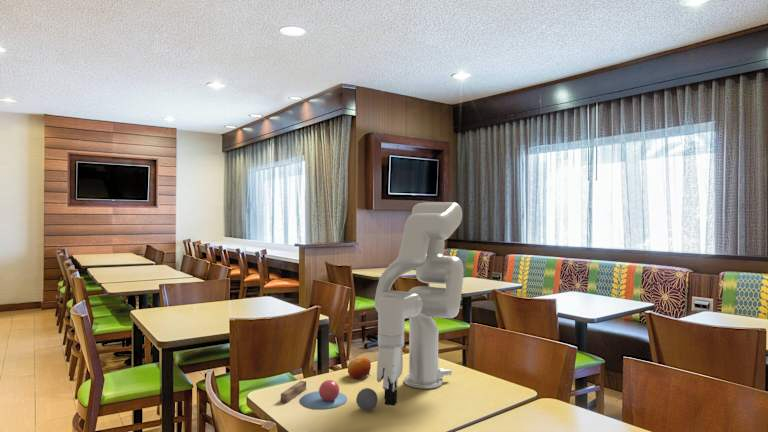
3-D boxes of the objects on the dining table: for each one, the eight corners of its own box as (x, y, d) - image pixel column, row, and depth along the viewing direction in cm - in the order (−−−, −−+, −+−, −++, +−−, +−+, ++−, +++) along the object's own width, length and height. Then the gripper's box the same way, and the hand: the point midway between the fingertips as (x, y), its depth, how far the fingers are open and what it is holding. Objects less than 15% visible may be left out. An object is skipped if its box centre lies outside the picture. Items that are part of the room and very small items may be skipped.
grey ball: (368, 380, 140) (363, 393, 143) (355, 391, 135) (349, 405, 138) (384, 393, 137) (378, 407, 140) (371, 405, 133) (365, 419, 136)
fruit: (373, 377, 161) (361, 356, 162) (353, 388, 162) (341, 366, 163) (378, 370, 169) (367, 349, 170) (359, 380, 170) (348, 359, 171)
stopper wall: (300, 388, 154) (300, 380, 154) (306, 389, 154) (306, 381, 154) (280, 402, 143) (280, 393, 143) (286, 403, 142) (286, 394, 142)
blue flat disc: (339, 389, 154) (339, 388, 154) (353, 405, 141) (353, 404, 141) (295, 394, 149) (295, 394, 149) (305, 411, 136) (305, 411, 136)
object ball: (337, 376, 148) (329, 393, 149) (320, 374, 145) (312, 392, 146) (345, 389, 143) (337, 406, 144) (328, 387, 140) (320, 405, 141)
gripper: (387, 332, 147) (386, 393, 147) (369, 344, 132) (369, 412, 132) (411, 334, 144) (410, 396, 144) (395, 347, 130) (395, 416, 130)
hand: (390, 404), depth 138 cm, fingers closed
